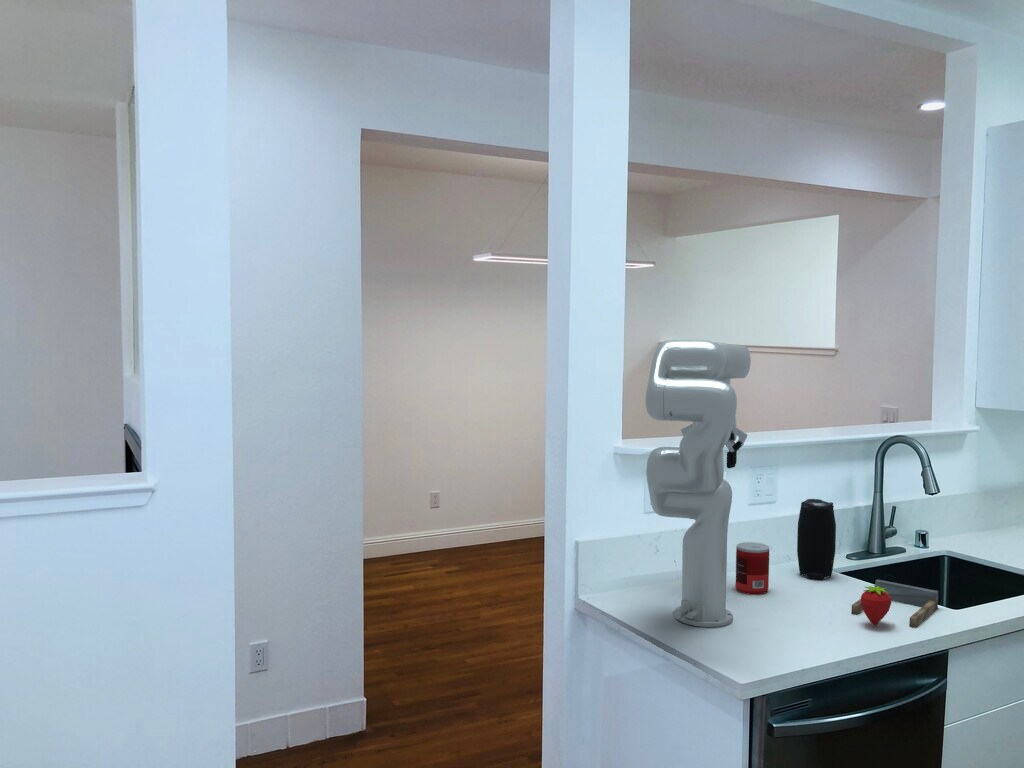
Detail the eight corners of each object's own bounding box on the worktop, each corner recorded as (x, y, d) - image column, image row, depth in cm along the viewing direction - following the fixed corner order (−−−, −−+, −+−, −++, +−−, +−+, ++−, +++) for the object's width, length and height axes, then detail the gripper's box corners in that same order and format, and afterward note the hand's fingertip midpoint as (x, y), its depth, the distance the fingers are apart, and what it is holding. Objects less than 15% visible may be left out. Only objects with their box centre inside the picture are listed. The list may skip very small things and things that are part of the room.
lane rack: (915, 627, 177) (915, 609, 177) (851, 613, 186) (851, 596, 185) (937, 608, 189) (938, 591, 189) (876, 595, 198) (877, 579, 198)
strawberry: (896, 624, 179) (897, 579, 178) (881, 633, 174) (883, 586, 173) (868, 617, 183) (870, 573, 182) (854, 626, 178) (855, 580, 177)
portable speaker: (841, 578, 212) (843, 503, 211) (812, 582, 209) (814, 506, 207) (817, 569, 220) (820, 497, 219) (789, 573, 217) (791, 499, 215)
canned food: (773, 589, 203) (774, 545, 202) (760, 597, 197) (761, 551, 196) (744, 583, 208) (745, 540, 207) (730, 590, 202) (730, 546, 201)
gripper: (754, 397, 200) (752, 467, 201) (690, 393, 211) (689, 460, 212) (739, 399, 194) (738, 471, 195) (675, 395, 206) (674, 463, 207)
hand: (712, 465), depth 204 cm, fingers open, 9 cm apart
